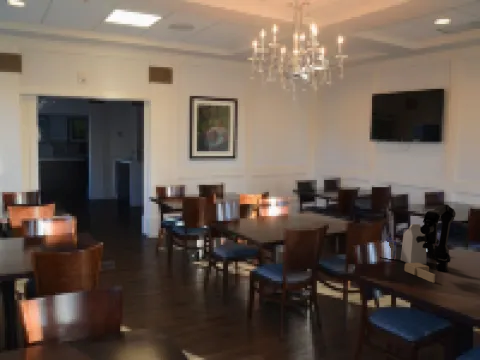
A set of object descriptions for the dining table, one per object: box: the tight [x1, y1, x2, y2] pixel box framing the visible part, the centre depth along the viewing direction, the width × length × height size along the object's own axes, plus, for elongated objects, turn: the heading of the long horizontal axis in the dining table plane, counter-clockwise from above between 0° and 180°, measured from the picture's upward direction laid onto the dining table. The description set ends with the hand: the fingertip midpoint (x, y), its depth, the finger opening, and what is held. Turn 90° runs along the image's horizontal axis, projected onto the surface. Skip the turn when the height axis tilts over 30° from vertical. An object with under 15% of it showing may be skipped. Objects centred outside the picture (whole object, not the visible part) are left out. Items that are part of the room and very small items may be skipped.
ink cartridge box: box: [380, 237, 397, 260], centre depth 321 cm, size 10×6×14 cm, turn 55°
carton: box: [404, 262, 430, 276], centre depth 286 cm, size 10×10×5 cm
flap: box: [415, 268, 436, 284], centre depth 273 cm, size 14×1×5 cm, turn 19°
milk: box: [400, 223, 427, 265], centre depth 313 cm, size 12×12×26 cm
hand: (430, 257), depth 279 cm, fingers closed
